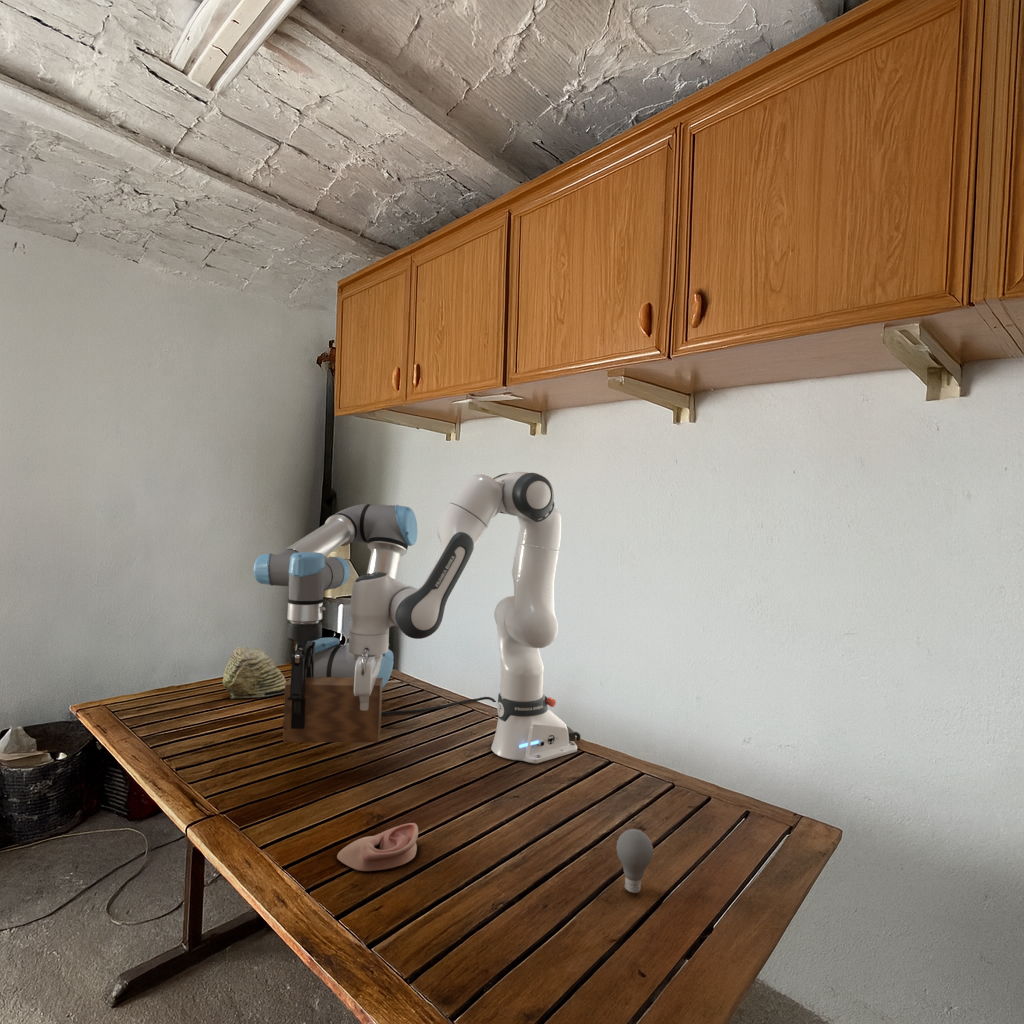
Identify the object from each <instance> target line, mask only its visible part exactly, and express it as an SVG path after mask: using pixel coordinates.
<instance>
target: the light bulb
mask: <svg viewBox="0 0 1024 1024" xmlns="http://www.w3.org/2000/svg"><path fill="white" fill-rule="evenodd" d="M615 849H616V854H617V857H618V859H619V861H620V863H621V865H622V867H623V873H624V874H623V875H624V876H625V878H624V888H625V890H627V891H628V892H630V893H634V894H635V893H639V892H640V891H641V889H642V887H641V886H642V879H643V877H644V875H645V871H646V868H647V867H648V866H649V864H650V863H651V861H652V859H653V855H654V847H653V843H652V841H651V838H649V836H648V835H647V834H646V833H645V832H643V831H642V830H641V829H636V828H629V829H627V830H625V831H623V832H622V833H621V834H620V835H619V837H618V839H617V841H616V847H615Z"/></svg>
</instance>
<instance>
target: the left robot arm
mask: <svg viewBox="0 0 1024 1024" xmlns="http://www.w3.org/2000/svg"><path fill="white" fill-rule="evenodd" d="M417 539H418V521H417V516H416V514H415V512H414V510H413V508H411V507H410V506H405V505H400V504H371V503H362V504H361V503H360V504H356V505H353V506H349V507H346V508H345V509H341V510H340V511H338V512H336V513H334V514H332V515H330V516H329V517H327V519H326V520H325V522H324V524H323V525H321V526H320V527H318V528H317V529H315V530H313V531H311V532H310V533H308V534H307V535H305V536H303V537H302V538H300V539H299V540H298V541H296V542H294V543H292V544H291V545H290V546H288V547H287V548H284V549H283V550H282V551H280V552H278V553H263V554H262V553H261V554H260V555H258V557H257V558H256V559H255V561H254V564H253V576H254V579H255V581H256V582H258V583H259V584H261V585H268V586H277V587H288V600H287V614H286V616H287V617H286V619H287V621H288V622H287V624H286V625H287V626H286V638H287V639H288V640H289V641H292V642H293V641H294V642H295V647H293V649H292V654H291V656H290V658H291V669H290V670H291V671H290V672H291V673H290V678H291V687H290V697H288V700H292V715H291V729H304V723H305V696H304V694H305V684H306V677H351V678H354V677H355V666H356V661H357V660H355V659H354V654H352V653H350V652H349V636H347V638H346V642H345V644H340V643H341V641H340V639H339V638H338V637H334V636H333V637H323V622H322V621H321V620H323V612H325V611H326V607H325V606H323V605H324V604H323V603H324V591H328V590H333V589H337V588H339V587H341V586H343V585H345V584H346V583H348V581H349V579H350V577H351V568H350V565H349V563H348V561H347V560H345V559H344V558H343V557H341V556H329V557H327V556H328V555H330V554H331V553H332V552H334V551H335V550H337V549H339V547H345V546H348V545H350V544H351V543H365V544H367V545H366V546H367V548H368V550H369V551H370V557H369V561H368V566H367V571H366V574H368V573H375V572H376V573H378V572H383V573H387V574H388V575H389V576H390V577H391V578H393V579H395V580H397V578H398V574H399V573H398V572H399V567H400V562H401V558H402V557H404V556H405V555H406V554H407V553H408V548H409V547H412V546H414V545H415V544H416V542H417ZM394 659H395V657H394V653H393V651H392V650H390V643H389V644H388V652H387V653H385V654H383V655H382V659H381V665H380V670H379V673H378V676H377V678H383V685H382V689H384V687H385V686H386V685H387V684H388V682H389V680H390V677H391V675H392V672H393V668H394V662H395V661H394ZM483 700H488V701H491V702H493V703H496V702H497V700H495V699H494V698H493V697H490V696H482V697H477V698H471V699H470V698H469V699H464V700H460V701H454V702H450V703H445V704H440V705H435V706H429V707H424V708H417V709H416V708H415V709H405V710H403V709H402V710H389V711H381V716H385V715H395V714H396V715H397V714H411V713H412V714H413V713H420V712H427V711H433V710H438V709H443V708H447V707H448V708H449V707H452V706H457V705H461V704H466V703H467V704H468V703H473V702H474V703H475V702H479V701H483Z"/></svg>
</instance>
